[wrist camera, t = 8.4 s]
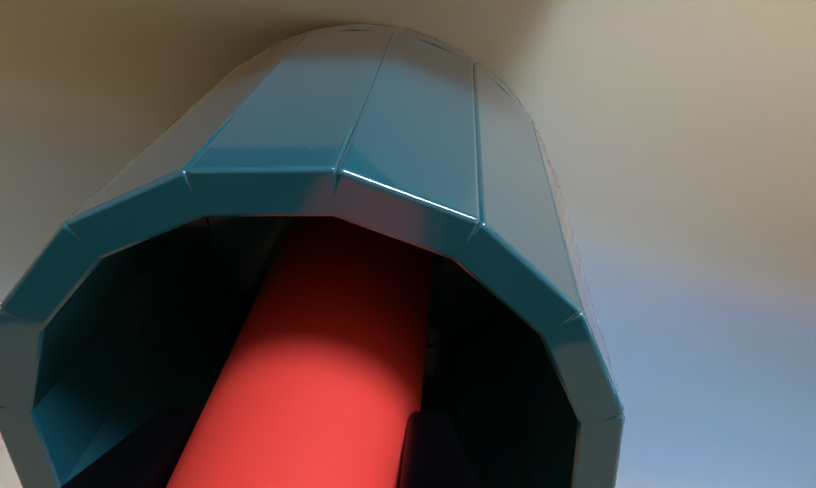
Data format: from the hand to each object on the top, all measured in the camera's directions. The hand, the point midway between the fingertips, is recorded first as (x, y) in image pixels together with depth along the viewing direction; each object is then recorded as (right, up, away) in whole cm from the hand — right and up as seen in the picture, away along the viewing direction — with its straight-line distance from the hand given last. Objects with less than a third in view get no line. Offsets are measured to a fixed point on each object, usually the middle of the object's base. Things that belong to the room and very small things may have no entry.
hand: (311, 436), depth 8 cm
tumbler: (0, +3, +5) cm, 6 cm away
